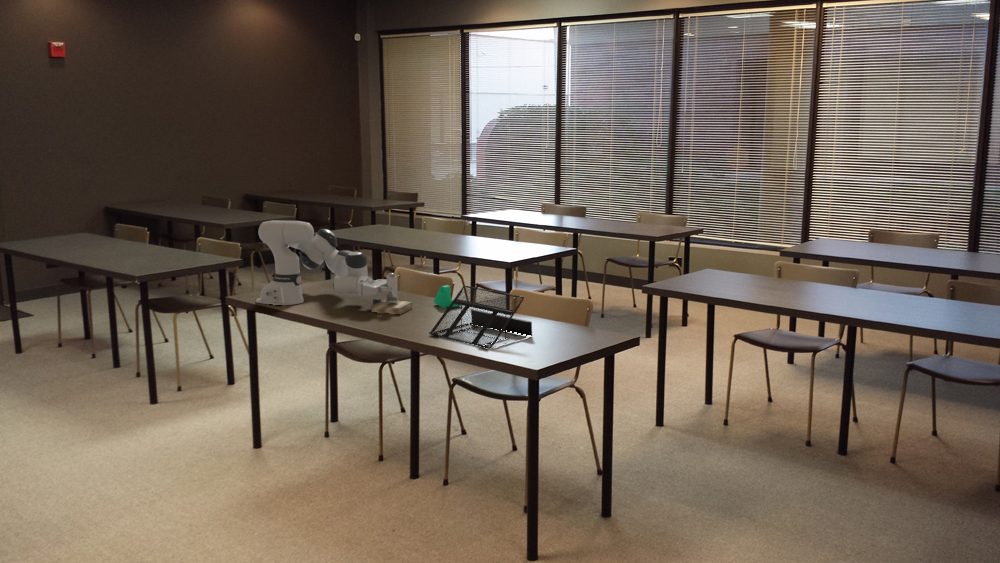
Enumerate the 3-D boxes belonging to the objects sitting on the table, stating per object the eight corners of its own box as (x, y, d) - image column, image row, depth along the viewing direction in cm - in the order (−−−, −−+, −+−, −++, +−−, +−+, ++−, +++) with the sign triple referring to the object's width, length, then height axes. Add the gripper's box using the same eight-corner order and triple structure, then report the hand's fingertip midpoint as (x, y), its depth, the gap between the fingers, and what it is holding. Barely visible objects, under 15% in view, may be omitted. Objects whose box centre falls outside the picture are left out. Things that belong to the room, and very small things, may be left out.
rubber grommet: (371, 306, 386) (371, 299, 385) (375, 304, 389) (375, 298, 389) (379, 306, 384) (379, 300, 384) (382, 304, 388) (382, 298, 388)
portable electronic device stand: (427, 336, 334) (427, 292, 330) (473, 324, 355) (473, 283, 351) (488, 352, 313) (489, 305, 309) (533, 338, 334) (534, 294, 330)
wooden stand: (371, 312, 373) (371, 305, 372) (384, 305, 386) (384, 299, 385) (399, 314, 368) (399, 308, 368) (412, 308, 382) (412, 302, 381)
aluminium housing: (383, 302, 374) (383, 274, 372) (388, 300, 380) (388, 272, 377) (395, 303, 373) (395, 275, 370) (400, 301, 378) (400, 272, 376)
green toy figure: (463, 307, 386) (463, 285, 384) (451, 309, 381) (451, 288, 379) (446, 303, 394) (446, 282, 392) (434, 305, 389) (434, 284, 387)
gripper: (375, 288, 389) (402, 290, 385) (356, 297, 369) (385, 299, 366) (375, 275, 388) (402, 277, 384) (356, 283, 368) (384, 285, 365)
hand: (393, 288), depth 375 cm, fingers closed on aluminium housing, 5 cm apart
